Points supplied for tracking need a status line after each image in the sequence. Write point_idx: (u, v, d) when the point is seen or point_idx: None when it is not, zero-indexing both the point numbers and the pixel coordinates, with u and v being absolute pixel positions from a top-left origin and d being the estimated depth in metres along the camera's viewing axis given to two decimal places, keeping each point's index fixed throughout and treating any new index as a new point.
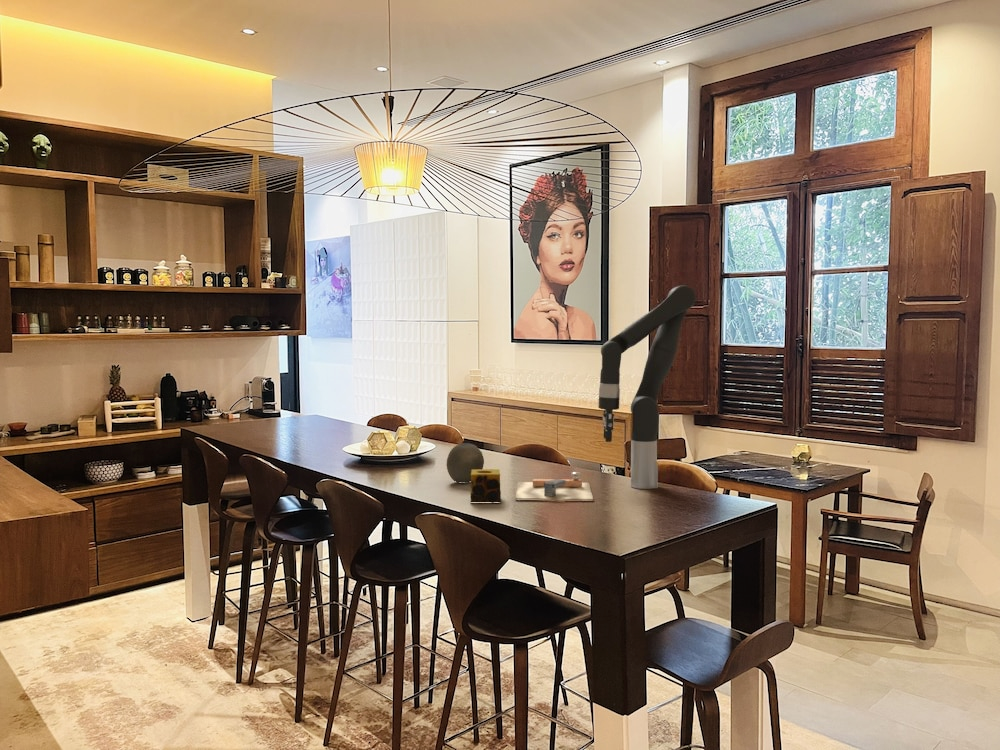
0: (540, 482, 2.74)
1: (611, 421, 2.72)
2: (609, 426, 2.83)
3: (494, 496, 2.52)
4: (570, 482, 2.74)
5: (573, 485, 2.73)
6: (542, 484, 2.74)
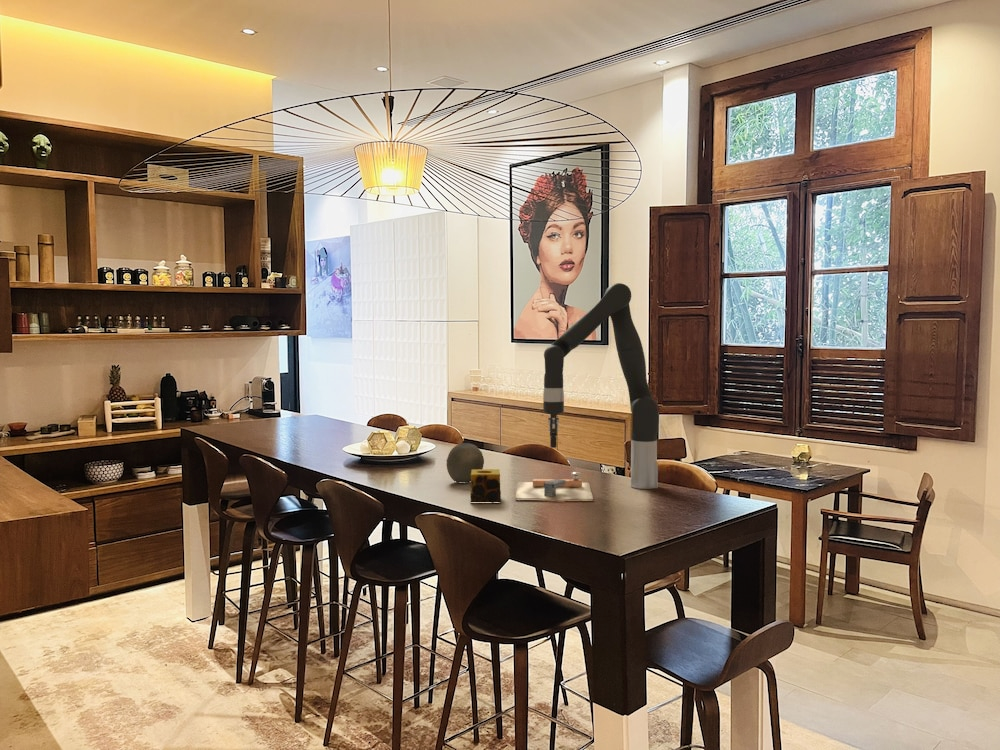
0: (540, 482, 2.74)
1: (555, 430, 2.75)
2: (555, 433, 2.80)
3: (494, 496, 2.52)
4: (570, 482, 2.74)
5: (573, 485, 2.73)
6: (542, 484, 2.74)
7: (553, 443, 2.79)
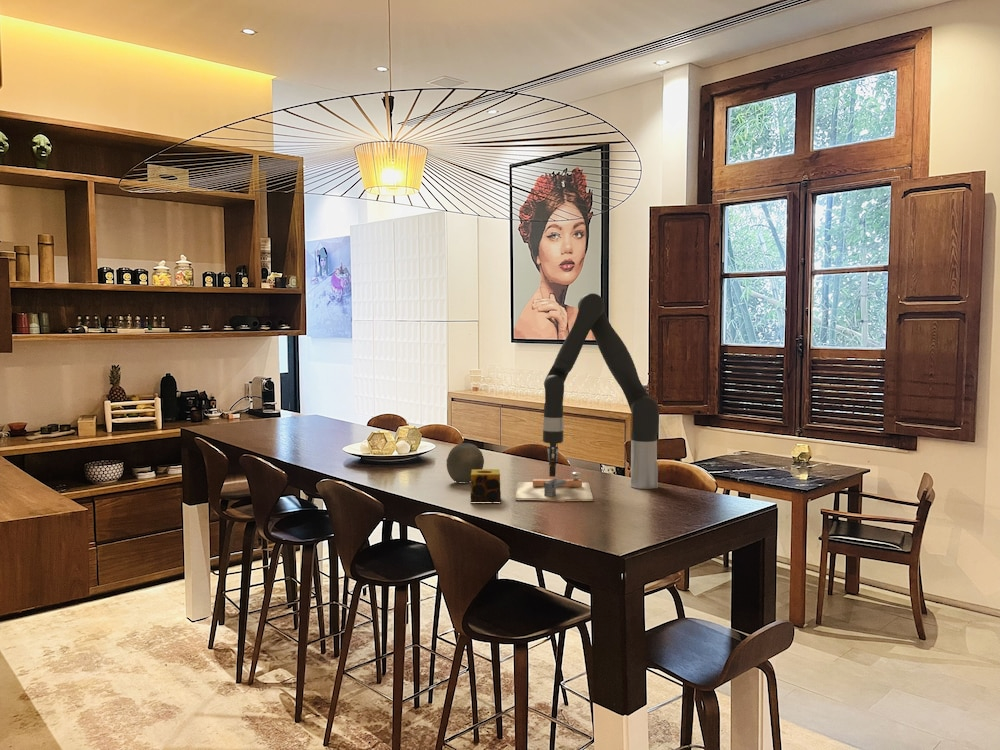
0: (540, 482, 2.74)
1: (554, 460, 2.76)
2: None
3: (494, 496, 2.52)
4: (570, 482, 2.74)
5: (573, 485, 2.73)
6: (542, 484, 2.74)
7: (552, 472, 2.80)
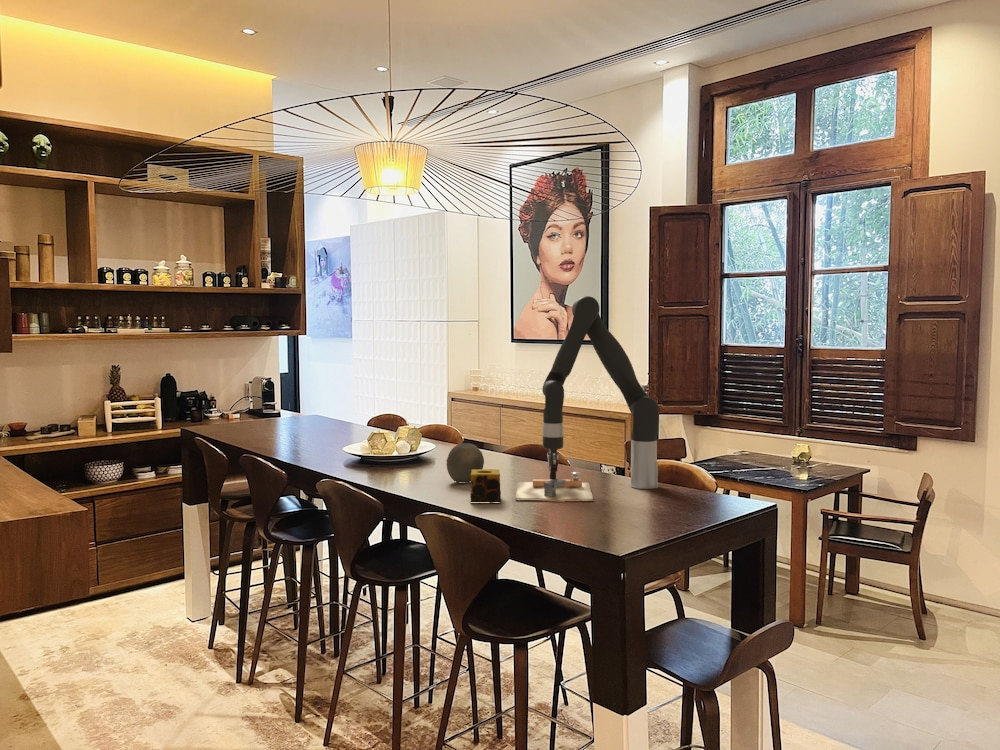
0: (540, 482, 2.74)
1: (555, 466, 2.74)
2: None
3: (494, 496, 2.52)
4: (570, 482, 2.74)
5: (573, 485, 2.73)
6: (542, 484, 2.74)
7: (553, 478, 2.78)
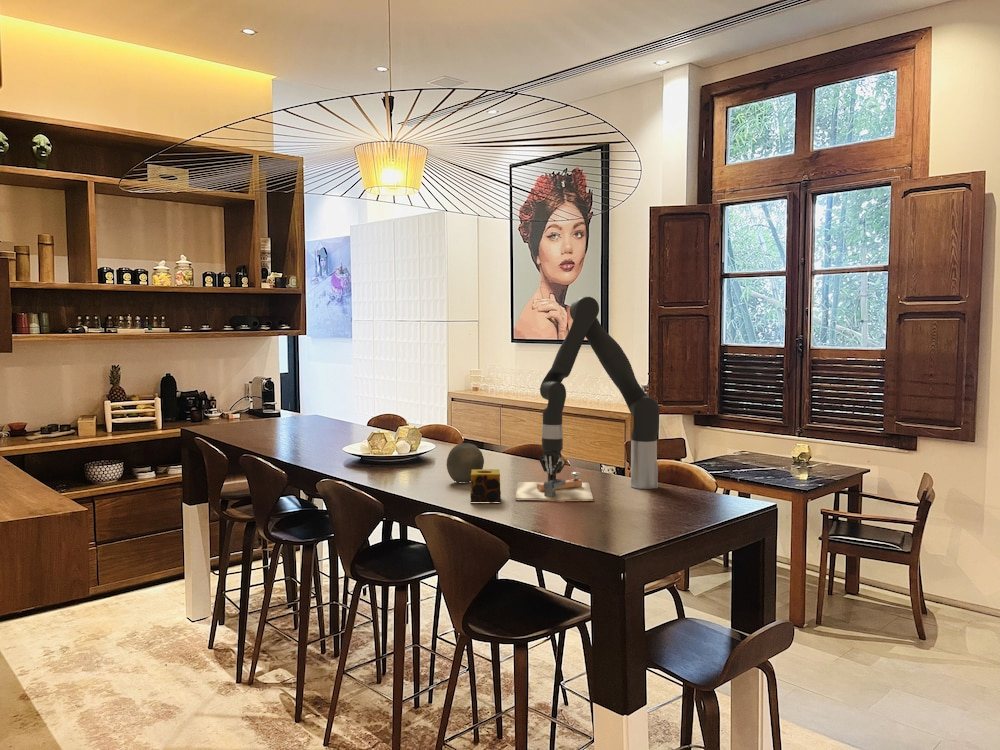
0: None
1: (561, 467, 2.70)
2: (553, 470, 2.74)
3: (494, 496, 2.52)
4: (573, 482, 2.73)
5: (576, 485, 2.73)
6: None
7: None
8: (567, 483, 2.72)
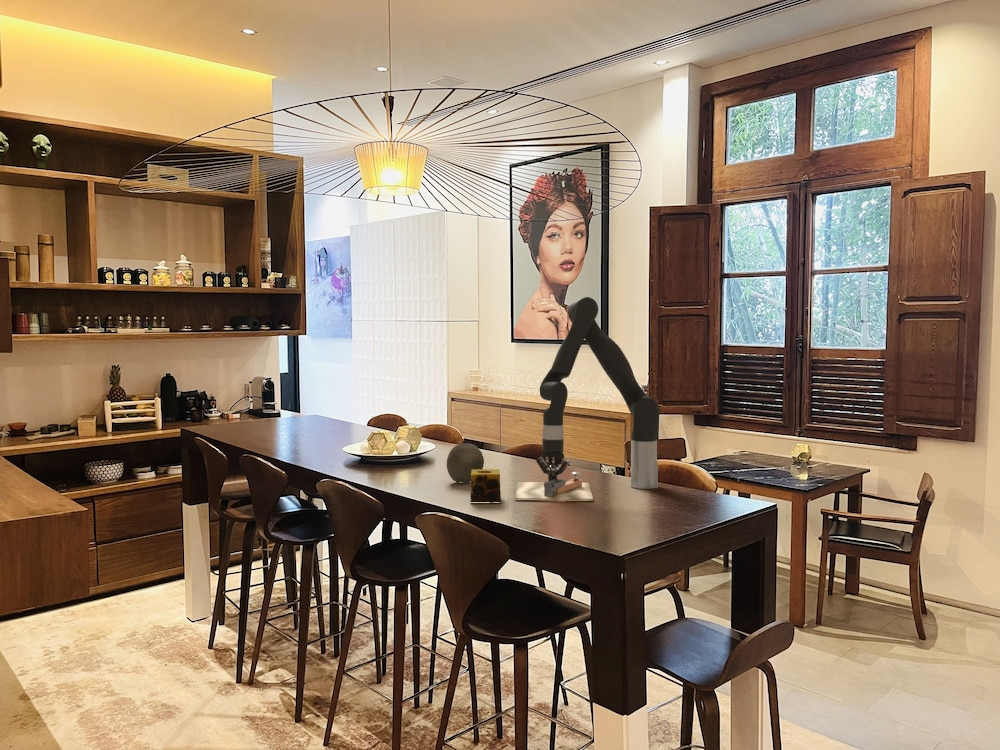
0: (561, 488, 2.64)
1: (565, 468, 2.68)
2: None
3: (494, 496, 2.52)
4: (576, 483, 2.73)
5: (579, 485, 2.73)
6: (562, 490, 2.65)
7: None
8: (573, 484, 2.71)
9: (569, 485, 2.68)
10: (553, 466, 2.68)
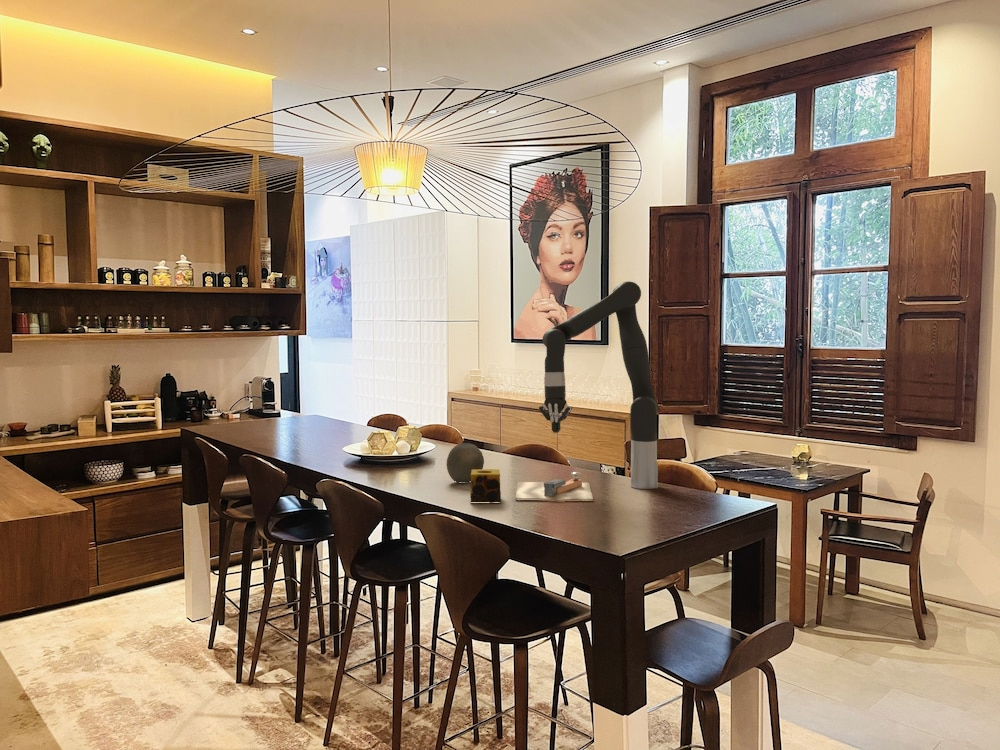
0: (561, 488, 2.64)
1: (567, 414, 2.74)
2: None
3: (494, 496, 2.52)
4: (576, 483, 2.73)
5: (579, 485, 2.73)
6: (562, 490, 2.65)
7: None
8: (573, 484, 2.71)
9: (569, 485, 2.68)
10: (556, 412, 2.74)
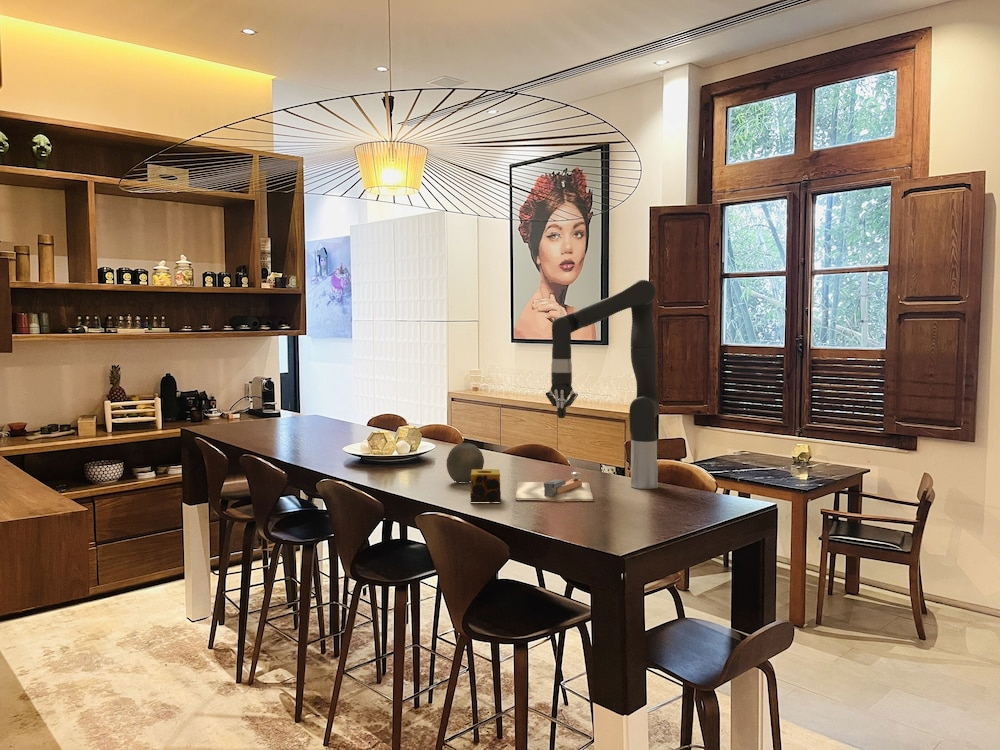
0: (561, 488, 2.64)
1: (573, 400, 2.80)
2: None
3: (494, 496, 2.52)
4: (576, 483, 2.73)
5: (579, 485, 2.73)
6: (562, 490, 2.65)
7: None
8: (573, 484, 2.71)
9: (569, 485, 2.68)
10: (562, 398, 2.80)
